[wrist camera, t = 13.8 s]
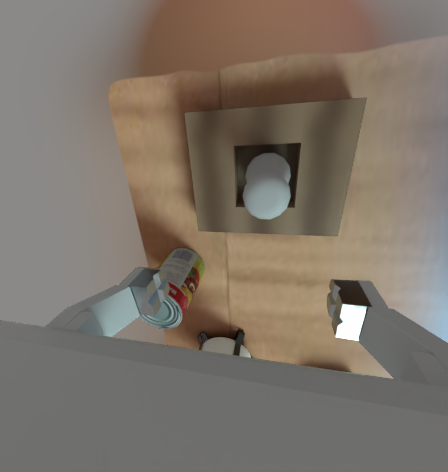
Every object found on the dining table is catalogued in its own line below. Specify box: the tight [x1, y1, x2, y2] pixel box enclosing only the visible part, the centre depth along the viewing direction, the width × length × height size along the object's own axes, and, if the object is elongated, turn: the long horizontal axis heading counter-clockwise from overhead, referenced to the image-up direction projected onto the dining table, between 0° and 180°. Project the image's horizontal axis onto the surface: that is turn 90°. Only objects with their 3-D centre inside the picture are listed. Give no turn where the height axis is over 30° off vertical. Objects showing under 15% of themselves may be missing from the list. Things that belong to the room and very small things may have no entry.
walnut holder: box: [184, 97, 367, 236], centre depth 29 cm, size 20×16×4 cm
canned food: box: [139, 248, 205, 329], centre depth 36 cm, size 8×8×12 cm
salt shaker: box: [243, 153, 291, 219], centre depth 24 cm, size 6×6×13 cm
